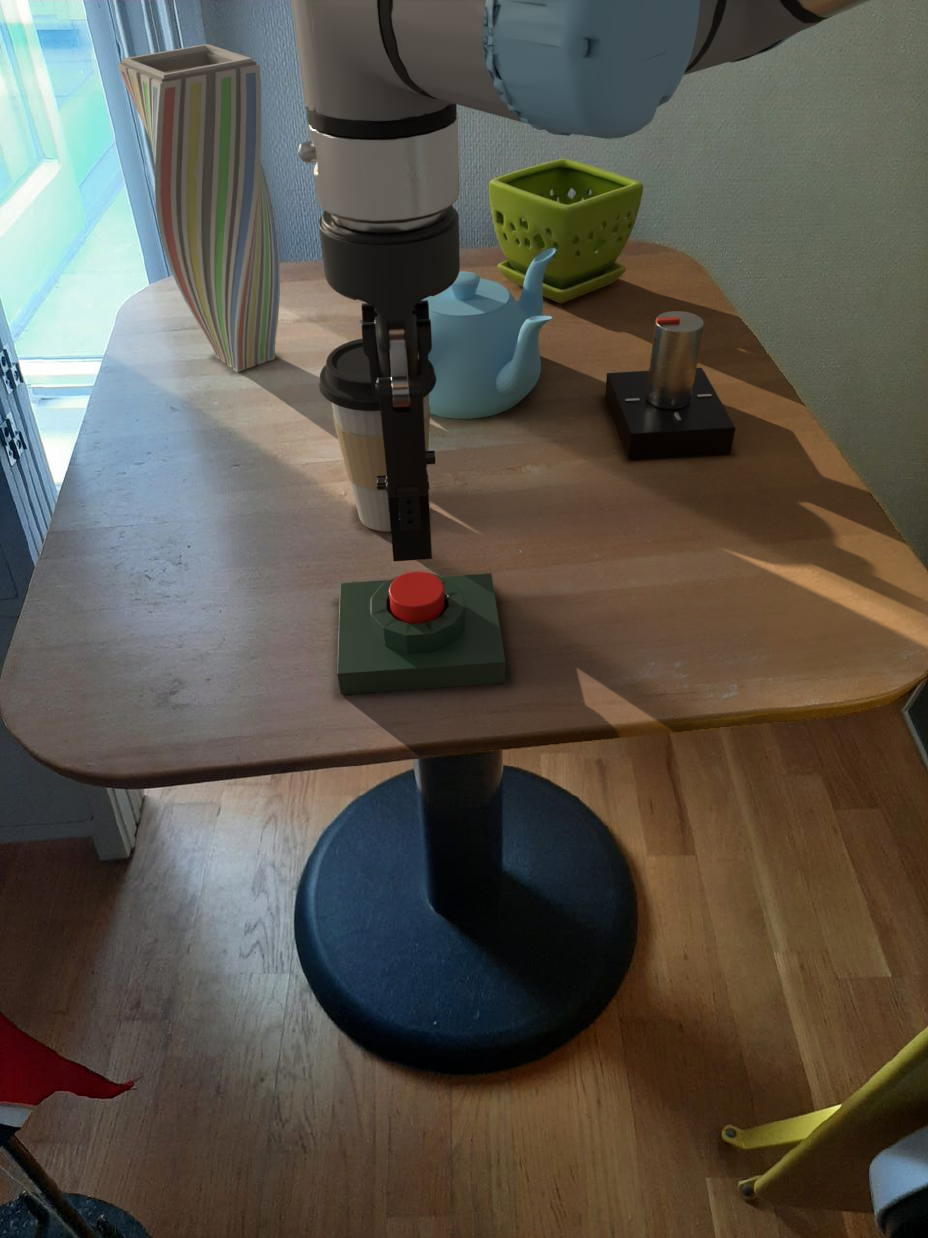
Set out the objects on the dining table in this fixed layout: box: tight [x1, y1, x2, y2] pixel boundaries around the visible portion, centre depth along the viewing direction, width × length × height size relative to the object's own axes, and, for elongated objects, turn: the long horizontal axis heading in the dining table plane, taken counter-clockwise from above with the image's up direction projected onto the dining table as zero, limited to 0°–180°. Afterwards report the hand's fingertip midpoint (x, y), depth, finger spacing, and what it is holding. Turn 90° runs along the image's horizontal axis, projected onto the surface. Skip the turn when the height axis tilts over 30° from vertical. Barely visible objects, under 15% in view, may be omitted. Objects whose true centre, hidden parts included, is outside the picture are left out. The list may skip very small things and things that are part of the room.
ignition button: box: [389, 571, 445, 624], centre depth 68 cm, size 4×4×2 cm
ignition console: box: [336, 572, 506, 696], centre depth 69 cm, size 10×12×4 cm
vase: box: [116, 43, 281, 373], centre depth 96 cm, size 14×14×30 cm
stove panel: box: [604, 367, 737, 461], centre depth 92 cm, size 12×10×3 cm
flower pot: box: [488, 158, 644, 304], centre depth 115 cm, size 14×14×13 cm
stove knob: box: [646, 310, 705, 409], centre depth 88 cm, size 4×4×8 cm
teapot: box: [359, 248, 556, 420], centre depth 95 cm, size 17×19×12 cm
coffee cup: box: [318, 338, 436, 533], centre depth 78 cm, size 9×9×15 cm
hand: (412, 553), depth 65 cm, fingers closed
